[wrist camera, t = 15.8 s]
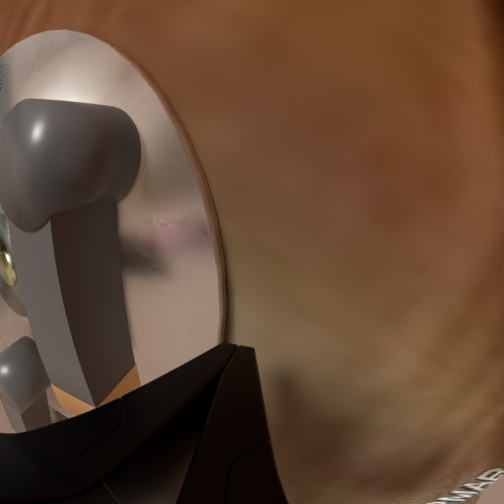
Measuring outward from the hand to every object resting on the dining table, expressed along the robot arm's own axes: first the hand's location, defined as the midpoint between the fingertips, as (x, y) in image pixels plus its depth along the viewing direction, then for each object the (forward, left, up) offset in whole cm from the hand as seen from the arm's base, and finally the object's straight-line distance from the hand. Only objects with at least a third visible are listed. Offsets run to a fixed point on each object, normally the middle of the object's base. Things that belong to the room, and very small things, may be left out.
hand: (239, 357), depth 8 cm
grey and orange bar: (+11, -15, -2) cm, 19 cm away
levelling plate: (+1, -14, -4) cm, 14 cm away
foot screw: (-1, -6, -2) cm, 6 cm away
